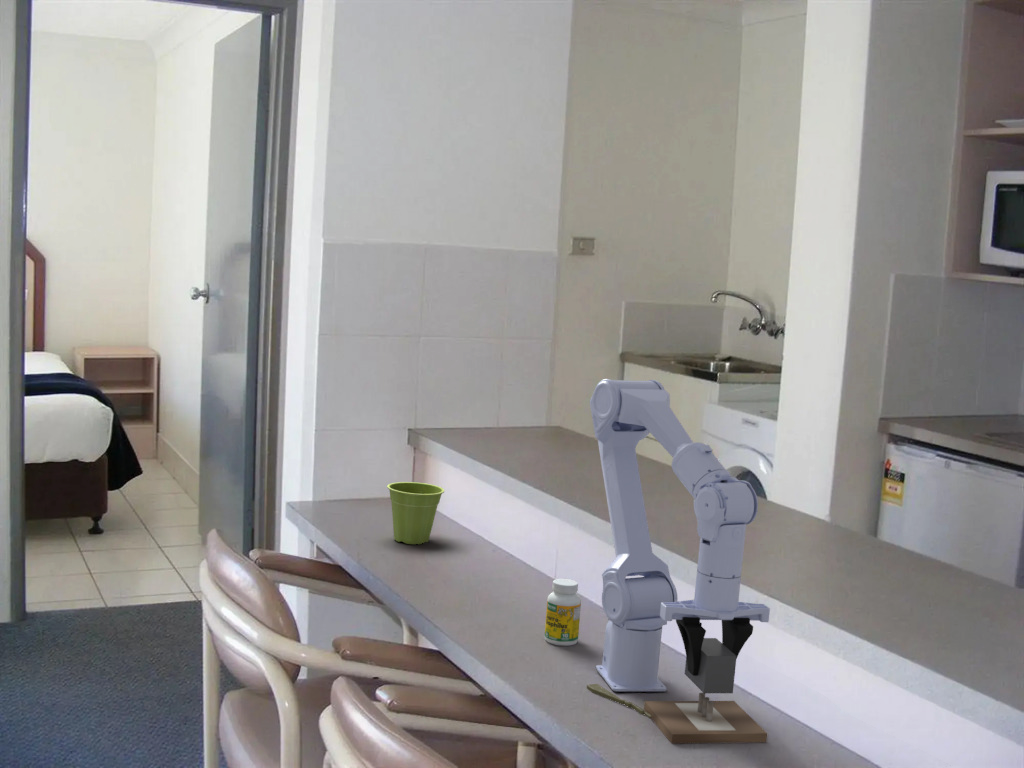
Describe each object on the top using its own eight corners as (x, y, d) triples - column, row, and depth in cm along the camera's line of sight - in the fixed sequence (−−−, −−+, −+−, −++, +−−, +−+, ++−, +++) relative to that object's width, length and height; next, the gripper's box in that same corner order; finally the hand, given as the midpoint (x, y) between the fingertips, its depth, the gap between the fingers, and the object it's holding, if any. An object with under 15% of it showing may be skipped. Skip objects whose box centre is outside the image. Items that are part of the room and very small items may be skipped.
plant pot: (404, 550, 232) (408, 495, 231) (372, 536, 242) (376, 483, 240) (451, 544, 240) (455, 491, 239) (419, 531, 249) (423, 480, 248)
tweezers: (584, 691, 164) (585, 684, 164) (595, 689, 165) (596, 682, 165) (645, 722, 154) (646, 715, 154) (656, 719, 156) (656, 713, 156)
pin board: (643, 709, 158) (646, 682, 157) (733, 709, 161) (735, 682, 160) (671, 743, 147) (674, 714, 147) (766, 742, 150) (769, 714, 150)
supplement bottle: (583, 640, 185) (588, 582, 184) (568, 649, 180) (573, 589, 179) (553, 633, 188) (558, 575, 187) (537, 641, 183) (542, 582, 182)
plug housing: (679, 668, 158) (682, 633, 158) (706, 668, 159) (710, 633, 158) (703, 693, 149) (707, 655, 149) (732, 693, 150) (736, 655, 150)
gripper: (677, 580, 146) (667, 684, 148) (783, 582, 149) (772, 684, 151) (658, 565, 153) (649, 664, 154) (760, 567, 156) (750, 664, 158)
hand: (709, 673), depth 153 cm, fingers closed on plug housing, 4 cm apart
